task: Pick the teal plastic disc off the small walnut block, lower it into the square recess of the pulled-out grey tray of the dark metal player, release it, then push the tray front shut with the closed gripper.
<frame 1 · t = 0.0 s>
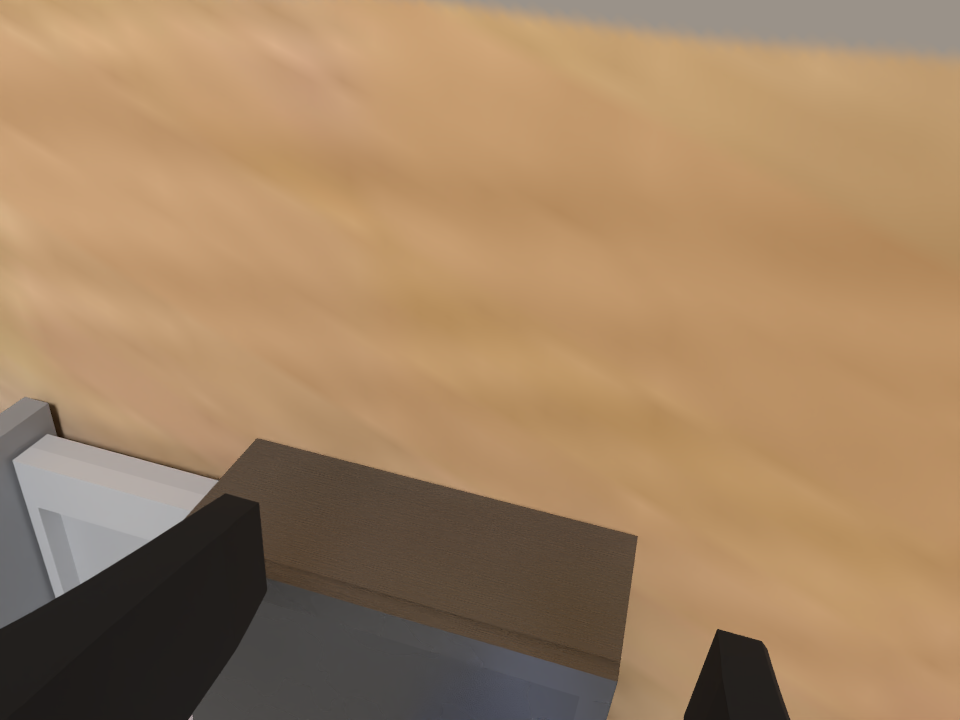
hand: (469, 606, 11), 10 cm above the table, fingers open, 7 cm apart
tray: (165, 614, 27), point 3 cm above the table, slide at 8.0 cm, touching disc
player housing: (414, 623, 28), on the table
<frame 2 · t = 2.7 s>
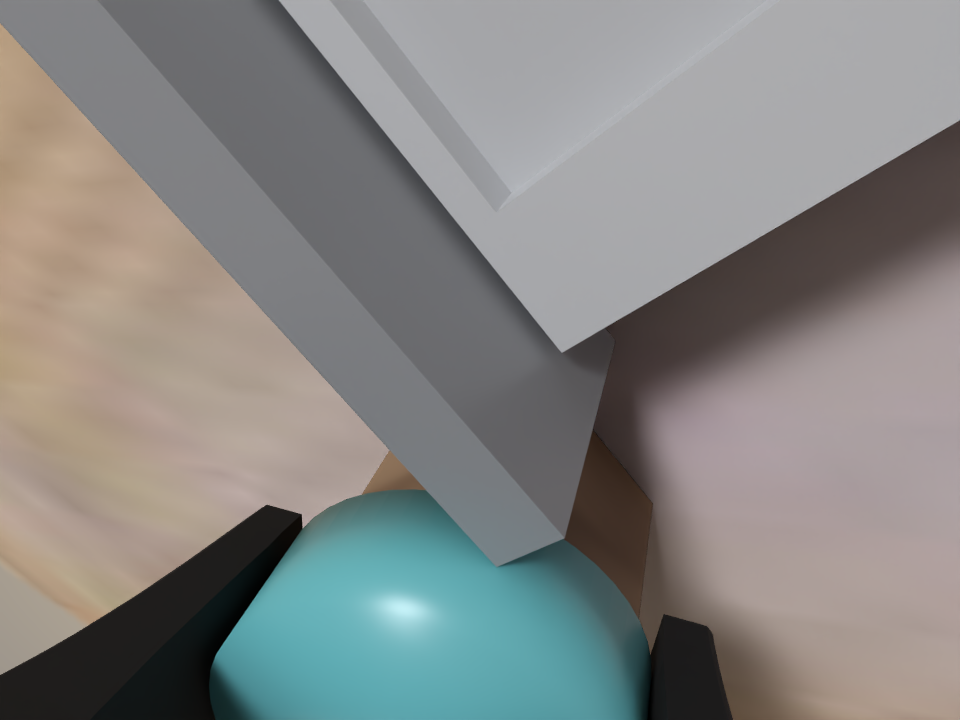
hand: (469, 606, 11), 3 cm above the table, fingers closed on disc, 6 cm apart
disc: (457, 639, 11), point 4 cm above the table, touching gripper, tray, walnut block
walnut block: (519, 471, 14), on the table
when the fingers open (3 cm above the table, at t = 6.3 s): disc drops 2 cm, resting on tray.
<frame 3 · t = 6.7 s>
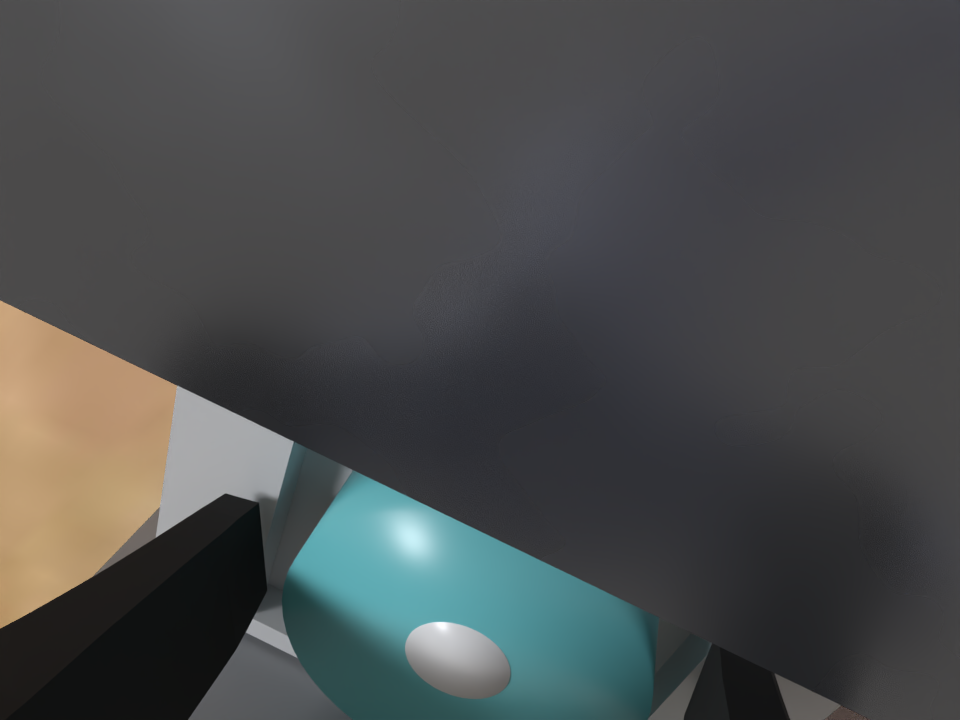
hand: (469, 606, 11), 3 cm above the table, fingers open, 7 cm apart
disc: (490, 563, 13), point 2 cm above the table, touching tray
tray: (502, 544, 11), point 3 cm above the table, slide at 8.0 cm, touching disc
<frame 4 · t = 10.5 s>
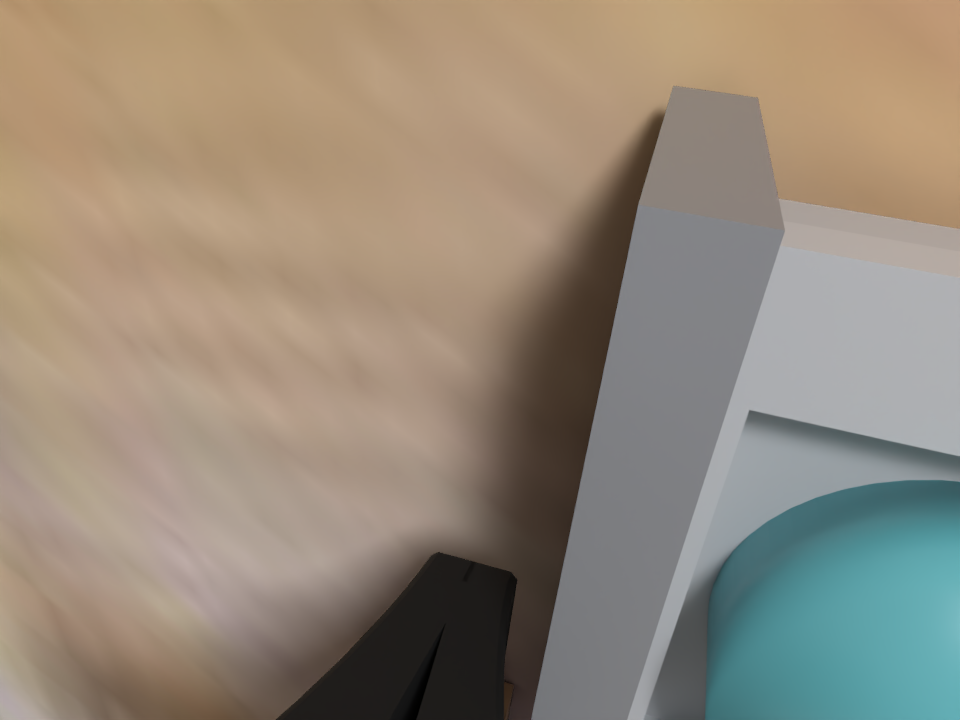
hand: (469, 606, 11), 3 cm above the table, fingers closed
disc: (914, 639, 11), point 2 cm above the table, touching tray
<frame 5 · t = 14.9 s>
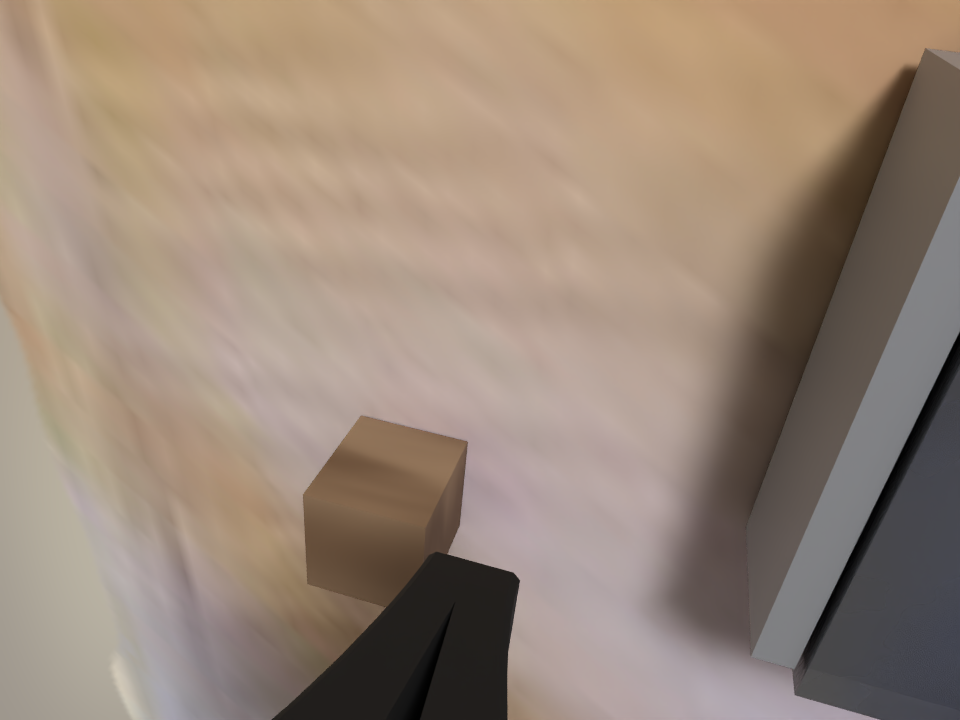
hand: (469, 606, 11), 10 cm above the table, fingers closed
walnut block: (411, 471, 25), on the table
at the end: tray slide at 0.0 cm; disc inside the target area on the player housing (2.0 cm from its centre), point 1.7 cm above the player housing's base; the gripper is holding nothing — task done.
